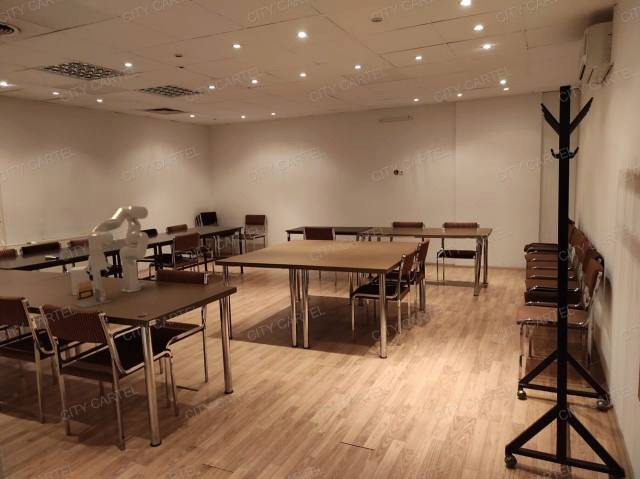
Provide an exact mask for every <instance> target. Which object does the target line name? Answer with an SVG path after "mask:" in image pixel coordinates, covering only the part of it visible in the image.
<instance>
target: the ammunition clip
mask: <svg viewBox="0 0 640 479" xmlns="http://www.w3.org/2000/svg"><path fill="white" fill-rule="evenodd" d="M77 291H78V292H77V295H76V296H77V300H78V301H80V300H84V299H88V298H91V297H95V296H94V294H93V289H92V284H91V281H90V280H89V281H88V280H87V283H86V280H85V286H84V281H82V283H81V281H80V286H79V282H78V283H77Z"/></svg>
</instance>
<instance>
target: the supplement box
mask: <svg viewBox="0 0 640 479" xmlns="http://www.w3.org/2000/svg"><path fill="white" fill-rule="evenodd" d="M87 266H88V265H86V266H74V267H72V268H71V269H70V272H69V273H70V281H71V292H72V295H71V296H77V292H78V291H77V283H78V282H79V286H80V281H81V283H82V281H84V286H85V280H86V283H87V280H88V281H89V280H90V279H89V274H87V273H86V272H85V271H84V268H86V267H87ZM87 270H88V271H90V270H89V269H87ZM92 275H93V281H91V284H92V289H93V295H94V294H95V288H103V286H102V277H101V270H99V271H94V272H93V273H92Z"/></svg>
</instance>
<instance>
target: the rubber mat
mask: <svg viewBox="0 0 640 479" xmlns="http://www.w3.org/2000/svg"><path fill="white" fill-rule="evenodd" d="M105 300H106V301H104V302H99V301H96V298H94V299H92V300H87V301H82V302H78V303H73V306H75V307H77V308H81V309H86V308H92V307H96V306H99V305H104V304H110V303H113V301H112V300H111V299H110V300H109V299H106V298H105Z"/></svg>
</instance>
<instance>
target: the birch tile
mask: <svg viewBox="0 0 640 479" xmlns="http://www.w3.org/2000/svg"><path fill="white" fill-rule="evenodd" d="M94 294H95V296H94V297H95V299H96V301H99V302H104V301H106V300H107V299H106V291H105V288H103V287H102V288H95V293H94ZM105 299H106V300H105Z"/></svg>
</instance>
